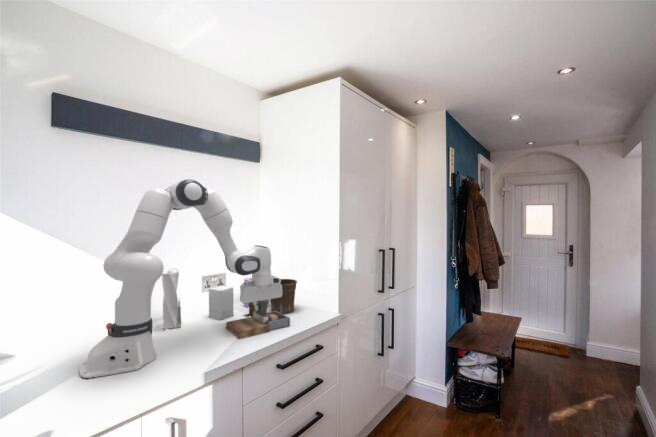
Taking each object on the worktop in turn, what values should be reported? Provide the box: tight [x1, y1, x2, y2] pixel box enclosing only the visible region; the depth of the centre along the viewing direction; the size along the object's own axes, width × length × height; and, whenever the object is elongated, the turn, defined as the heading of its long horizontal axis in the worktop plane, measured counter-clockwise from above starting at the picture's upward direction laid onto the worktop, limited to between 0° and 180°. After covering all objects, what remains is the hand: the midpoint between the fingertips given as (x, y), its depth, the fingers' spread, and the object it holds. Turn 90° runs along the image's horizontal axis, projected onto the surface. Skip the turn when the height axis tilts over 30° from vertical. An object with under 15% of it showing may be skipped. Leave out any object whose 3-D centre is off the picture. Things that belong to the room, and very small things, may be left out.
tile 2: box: [267, 313, 278, 322], centre depth 150 cm, size 5×5×3 cm
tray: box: [266, 311, 291, 332], centre depth 153 cm, size 11×14×4 cm
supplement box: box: [208, 285, 234, 321], centre depth 166 cm, size 9×9×15 cm
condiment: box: [243, 302, 257, 318], centre depth 168 cm, size 7×8×12 cm
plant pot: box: [270, 278, 298, 315], centre depth 176 cm, size 16×16×16 cm
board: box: [225, 317, 270, 340], centre depth 146 cm, size 14×16×3 cm
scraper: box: [253, 300, 269, 324], centre depth 150 cm, size 3×11×9 cm, turn 37°
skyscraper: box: [161, 267, 182, 330], centre depth 150 cm, size 8×8×28 cm
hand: (261, 309), depth 150 cm, fingers closed on scraper, 3 cm apart
